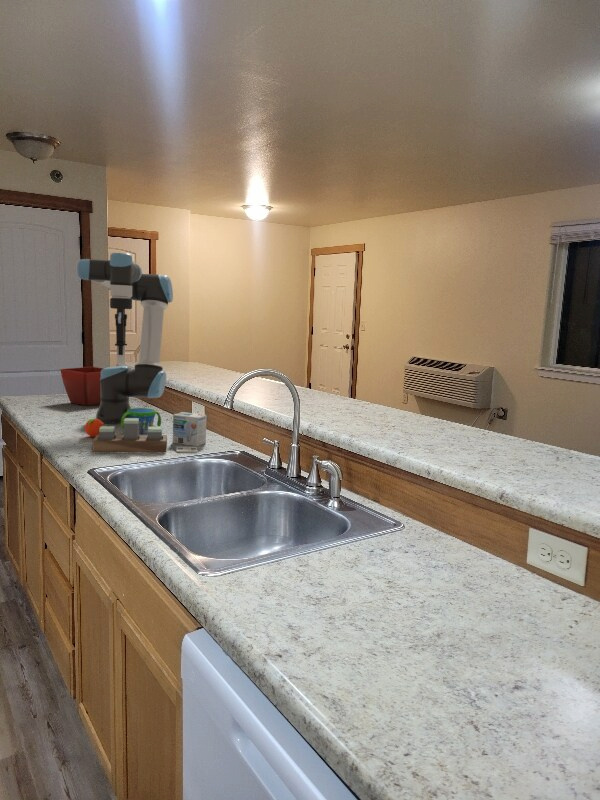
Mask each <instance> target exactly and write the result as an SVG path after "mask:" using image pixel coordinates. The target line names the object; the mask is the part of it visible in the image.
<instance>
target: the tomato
mask: <svg viewBox="0 0 600 800" xmlns="http://www.w3.org/2000/svg"><path fill="white" fill-rule="evenodd" d="M101 426H105V423H103V422H102V421H101V420H99V419H96V417H93V418H90V419H89V420H87V422H85V426H84V431H85V433H86V434H87V435H88V436H89V437H91V438H95V437H96V435H99V429H100V427H101Z"/></svg>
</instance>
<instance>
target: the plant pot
mask: <svg viewBox="0 0 600 800" xmlns="http://www.w3.org/2000/svg"><path fill="white" fill-rule="evenodd" d="M102 369H104V367H97V366H83V367H82V366H81V367H72V368H71V367H70V368H60V375H61V379H62V382H63V386H64V389H65V392H66V394H67V397H68V400H69V401H70V403H71V404H74V403H76V405H79V404H82V405H81V406H84V405H90V406H96V405H95V404H97V405H100V402H101V395H100V378H101V370H102Z"/></svg>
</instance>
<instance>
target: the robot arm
mask: <svg viewBox="0 0 600 800" xmlns="http://www.w3.org/2000/svg"><path fill="white" fill-rule="evenodd" d="M76 268H77V269H76V270H77V275H78V276H77V277H78V278H79V279H81V280H82V281H84V280H85V281H94V282H96V283H99V284H101V285H102V286H104V287H106V288H108V290H109V293H110V294H109V295H110V298H109V308H110V309H116V313H115V314H114V319H115V328H116V329H115V333H116V335H115V336H116V340H115V341H116V343H115V344H114V346H116V365H117V366H109V367H105V368H104V367H103V368H104V369H102V370H101V378H100V395H101V402H100V404H99V407H98V409H97V412H96V415H95V419H99V420H101V421H102V422H103V424H121V419H122V416H123V415H124V413H126V412H127V410H128V409H132V407H131V405H130V398H146V399H155V398H156V399H157V398H160V397H161V396H162V395H163V393H164V391H165V389H166V383H167V372H166V371H164V370H163V369H164V368H163V366H162V364H161V362H160V360H161V350H162V349H161V347H162V337H163V327H164V325H163V324H164V314H165V313H164V312H165V310H166V309H167V308H168V307H169V303H172V302H173V300H174V295H173V294H174V291H173V283H172V281H171V278H170V277H169V276H168V275H165V274H160V273H157V274H154V273H153V274H152V273H143V270H142V267H141V266H140V264H138V263H136V262H135V261H133V255H132V254H131V253H126V252H112V253H110V257H109V259H94V258H93V259H92V258H91V259H90V258H83V259H82V258H81V259H80V260H78V263H77V267H76ZM133 301H138V302H139V303H140V305H141V306H142V307H143V313H142V320H141V321H142V323H141V334H140V344H139V355H138V356H139V357H138V361H137V362H136V363H135V364H134V369H130V366H129V365H125V364H126V346H127V345H128V343H126V335H127V333H126V332H127V331H126V329H127V328H126V327H127V319H128V314H126V310H132V309H133ZM125 418H128V415H127V416H126V417H125Z"/></svg>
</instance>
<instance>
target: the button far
mask: <svg viewBox="0 0 600 800" xmlns="http://www.w3.org/2000/svg"><path fill="white" fill-rule="evenodd" d="M162 435H163V426H153V427H148V440H162Z"/></svg>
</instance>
